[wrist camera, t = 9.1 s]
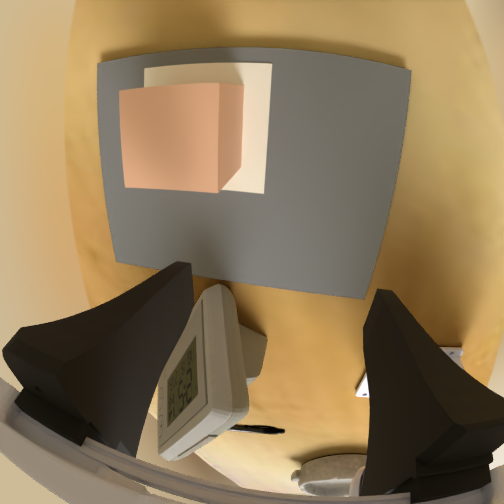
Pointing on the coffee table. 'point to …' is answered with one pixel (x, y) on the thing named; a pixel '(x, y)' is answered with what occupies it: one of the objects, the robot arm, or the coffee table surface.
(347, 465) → the dish
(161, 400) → the digital clock
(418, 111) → the coffee table surface
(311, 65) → the mat
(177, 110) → the block
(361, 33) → the coffee table surface
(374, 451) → the robot arm
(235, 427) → the pen
